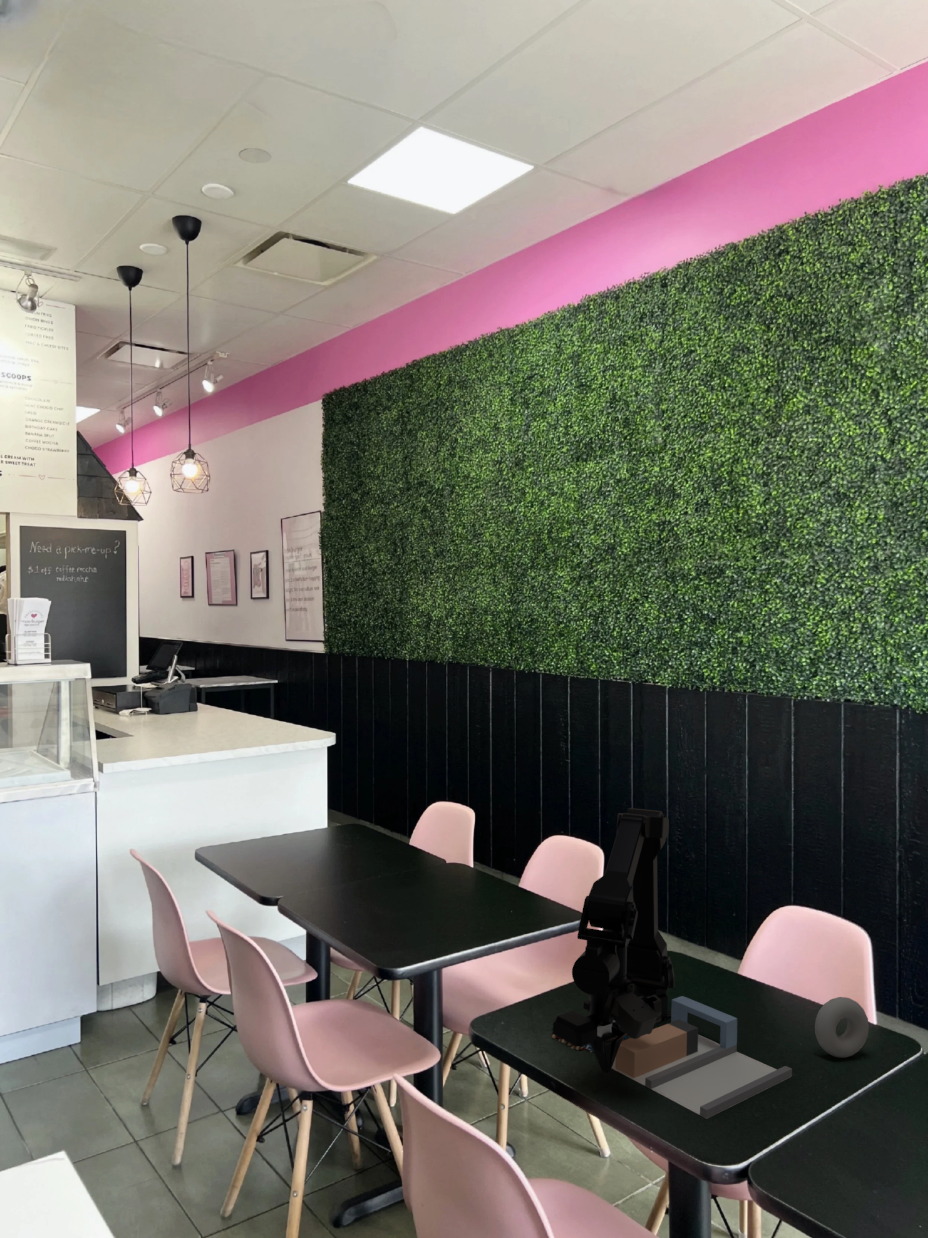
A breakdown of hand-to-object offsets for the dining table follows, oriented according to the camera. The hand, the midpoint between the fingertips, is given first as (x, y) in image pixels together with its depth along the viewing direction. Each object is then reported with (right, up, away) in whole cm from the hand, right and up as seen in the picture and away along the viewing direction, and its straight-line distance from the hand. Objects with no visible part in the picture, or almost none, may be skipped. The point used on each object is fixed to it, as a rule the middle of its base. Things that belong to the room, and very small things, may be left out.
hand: (606, 1072), depth 141 cm
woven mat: (0, -3, +16) cm, 16 cm away
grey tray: (+15, -3, +5) cm, 16 cm away
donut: (+42, -4, +12) cm, 44 cm away
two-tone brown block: (+10, -2, +8) cm, 12 cm away
